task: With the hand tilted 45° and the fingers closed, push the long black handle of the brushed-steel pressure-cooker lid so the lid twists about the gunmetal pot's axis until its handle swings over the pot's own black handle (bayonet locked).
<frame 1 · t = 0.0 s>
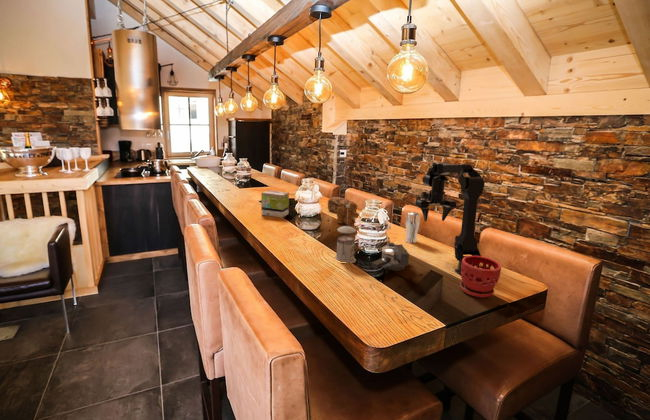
hand: (434, 221, 171), 15 cm above the table, tool pointing down, fingers open, 9 cm apart
french press: (344, 260, 157), on the table
tea box: (275, 215, 229), on the table
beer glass: (410, 241, 186), on the table
pot: (393, 265, 153), on the table
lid: (397, 249, 147), point 9 cm above the table, hinge at 50.0°
plant pot: (476, 292, 131), on the table
bread: (341, 213, 241), on the table
stuffed squirrel: (346, 223, 216), on the table
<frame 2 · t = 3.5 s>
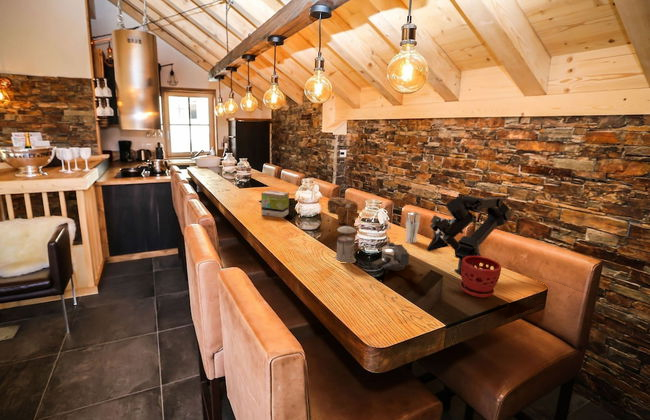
hand: (427, 250, 140), 11 cm above the table, tool tilted 45°, fingers closed
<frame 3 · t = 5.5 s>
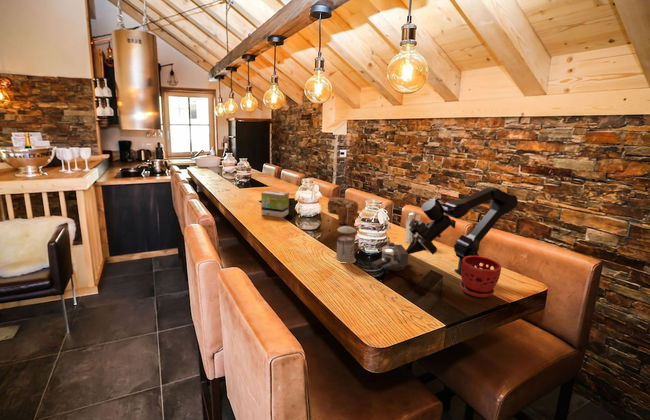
hand: (405, 253, 140), 10 cm above the table, tool tilted 45°, fingers closed, pressing on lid
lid: (396, 249, 147), point 9 cm above the table, hinge at 49.2°, touching gripper
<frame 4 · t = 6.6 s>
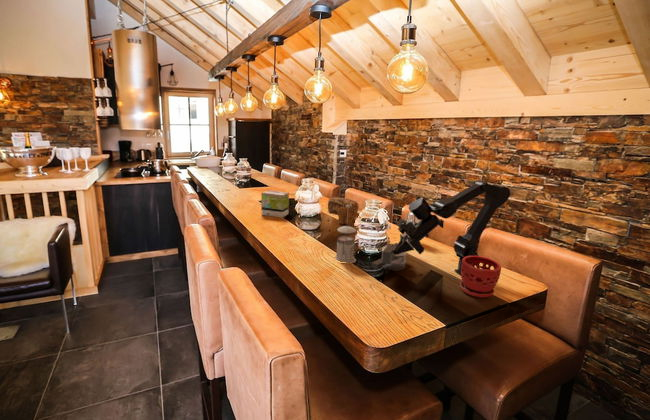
hand: (393, 253, 140), 10 cm above the table, tool tilted 45°, fingers closed
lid: (392, 248, 147), point 9 cm above the table, hinge at 24.2°, touching gripper
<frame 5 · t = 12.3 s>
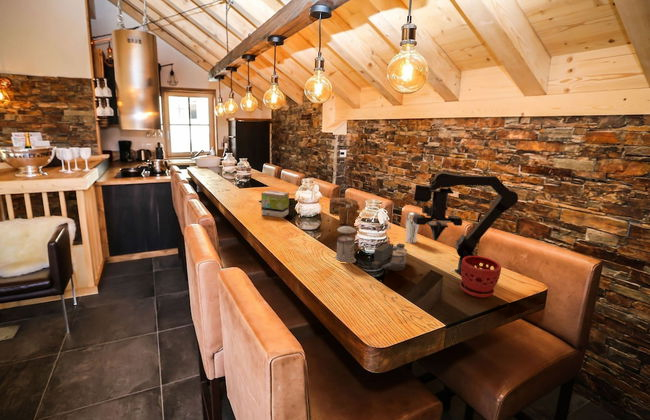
hand: (435, 240, 147), 13 cm above the table, tool pointing down, fingers closed
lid: (390, 248, 147), point 9 cm above the table, hinge at 11.5°
at the end: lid at +12° (first picture: +50°) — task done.
